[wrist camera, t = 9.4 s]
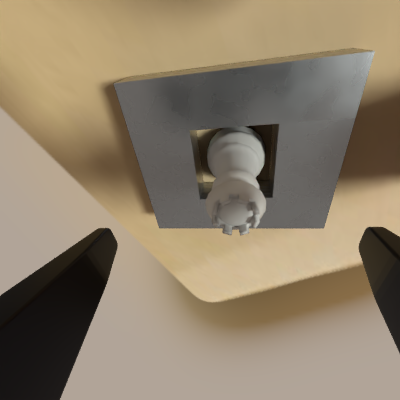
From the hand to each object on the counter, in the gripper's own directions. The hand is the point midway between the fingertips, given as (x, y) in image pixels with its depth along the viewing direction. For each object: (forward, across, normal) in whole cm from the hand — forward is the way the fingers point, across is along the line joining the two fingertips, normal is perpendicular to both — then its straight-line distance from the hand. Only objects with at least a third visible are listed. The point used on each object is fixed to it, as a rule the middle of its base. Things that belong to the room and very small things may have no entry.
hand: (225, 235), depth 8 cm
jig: (+11, 0, +2) cm, 11 cm away
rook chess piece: (+11, 0, +2) cm, 11 cm away
